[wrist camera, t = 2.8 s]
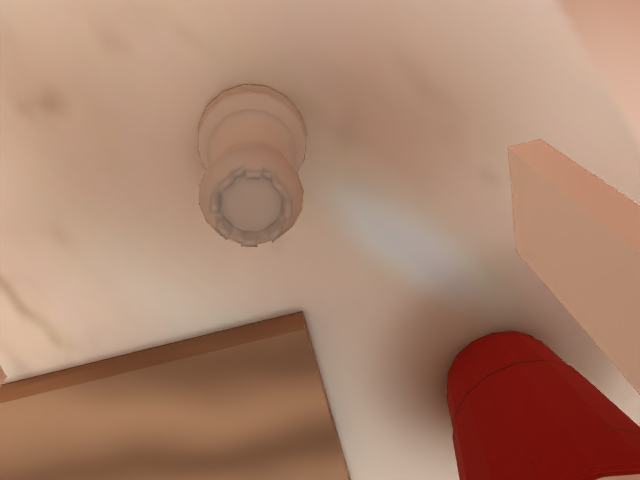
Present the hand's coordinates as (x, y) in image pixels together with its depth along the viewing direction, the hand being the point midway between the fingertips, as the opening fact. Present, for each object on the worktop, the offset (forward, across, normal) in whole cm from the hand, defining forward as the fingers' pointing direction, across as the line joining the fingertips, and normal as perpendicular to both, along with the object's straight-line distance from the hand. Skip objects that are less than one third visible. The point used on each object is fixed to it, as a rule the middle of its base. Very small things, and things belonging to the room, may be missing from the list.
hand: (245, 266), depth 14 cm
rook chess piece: (+12, 0, 0) cm, 12 cm away
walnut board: (+12, +12, +15) cm, 23 cm away
